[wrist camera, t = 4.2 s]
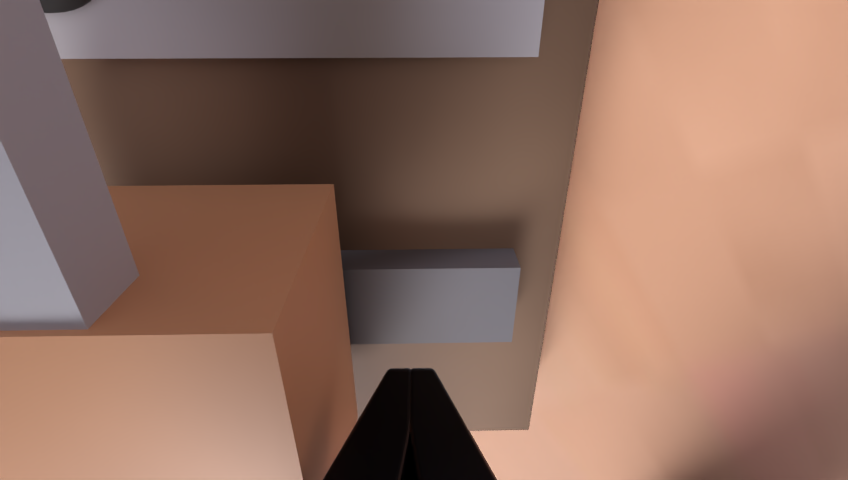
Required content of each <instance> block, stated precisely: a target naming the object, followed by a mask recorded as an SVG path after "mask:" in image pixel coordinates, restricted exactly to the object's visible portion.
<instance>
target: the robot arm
mask: <svg viewBox="0 0 848 480" xmlns="http://www.w3.org/2000/svg"><path fill="white" fill-rule="evenodd" d="M323 480H497V479H496V477H495V475H494V474H493V472H492V470H491V468H490V467H489V465H488V463H487V461H486V460H485V458H484V456H483V454H482V452H481V451H480V449H479V447H478V445H477V444H476V442H475V440H474V438H473V437H472V435H471V433H470V431H469V430H468V428H467V426H466V424H465V423H464V421H463V419H462V417H461V415H460V414H459V412H458V410H457V408H456V407H455V405H454V403H453V401H452V400H451V398H450V396H449V394H448V393H447V391H446V389H445V387H444V385H443V384H442V382H441V380H440V378H439V377H438V375H437V373H436V372H435V370H434V369H432V368H412V369H410V368H390V369H389V370H387V372H386V373H385V375H384V376H383V378H382V380H381V381H380V383H379V385H378V387H377V388H376V390H375V392H374V393H373V395H372V397H371V398H370V400H369V402H368V404H367V405H366V407H365V409H364V410H363V412H362V414H361V415H360V417H359V419H358V421H357V422H356V424H355V426H354V427H353V429H352V431H351V433H350V434H349V436H348V438H347V439H346V441H345V443H344V444H343V446H342V448H341V450H340V451H339V453H338V455H337V456H336V458H335V460H334V461H333V463H332V465H331V467H330V468H329V470H328V472H327V473H326V475H325V477H324V478H323Z"/></svg>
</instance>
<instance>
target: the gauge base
mask: <svg viewBox="0 0 848 480" xmlns="http://www.w3.org/2000/svg"><path fill="white" fill-rule="evenodd" d="M598 2H599V0H40V3H41V6H42V8H43V11H44V14H45V17H46V19H47V22H48V25H49V28H50V30H51V33H52V36H53V39H54V41H55V44H56V47H57V50H58V52H59V55H60V58H61V61H62V63H63V66H64V69H65V72H66V74H67V77H68V80H69V83H70V85H71V88H72V91H73V94H74V96H75V99H76V102H77V105H78V107H79V110H80V113H81V116H82V118H83V121H84V124H85V127H86V129H87V132H88V135H89V138H90V140H91V143H92V146H93V149H94V151H95V154H96V157H97V160H98V162H99V165H100V168H101V171H102V173H103V176H104V179H105V182H106V184H107V186H167V185H285V184H334V192H335V202H336V211H337V221H338V231H339V240H340V250H341V259H342V269H343V278H344V288H345V298H346V307H347V317H348V326H349V336H350V346H351V355H352V365H353V374H354V384H355V394H356V403H357V413H358V419H359V417H360V415H361V414H362V412H363V410H364V409H365V407H366V405H367V404H368V402H369V400H370V398H371V397H372V395H373V393H374V392H375V390H376V388H377V387H378V385H379V383H380V381H381V380H382V378H383V376H384V375H385V373H386V372H387V370H389V369H390V368H410V369H412V368H432V369H434V370H435V372H436V373H437V375H438V377H439V378H440V380H441V382H442V384H443V385H444V387H445V389H446V391H447V393H448V394H449V396H450V398H451V400H452V401H453V403H454V405H455V407H456V408H457V410H458V412H459V414H460V415H461V417H462V419H463V421H464V423H465V424H466V426H467V428H468V430H469V431H480V430H528V429H529V423H530V417H531V411H532V405H533V399H534V392H535V386H536V380H537V374H538V368H539V362H540V356H541V350H542V344H543V338H544V331H545V325H546V319H547V313H548V307H549V301H550V295H551V289H552V283H553V276H554V270H555V264H556V258H557V252H558V246H559V240H560V234H561V228H562V221H563V215H564V209H565V203H566V197H567V191H568V185H569V179H570V173H571V166H572V160H573V154H574V148H575V142H576V136H577V130H578V124H579V118H580V111H581V105H582V99H583V93H584V87H585V81H586V75H587V69H588V63H589V57H590V50H591V44H592V38H593V32H594V26H595V20H596V14H597V8H598ZM358 419H357V421H358Z"/></svg>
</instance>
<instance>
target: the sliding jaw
mask: <svg viewBox="0 0 848 480" xmlns="http://www.w3.org/2000/svg"><path fill="white" fill-rule="evenodd" d="M357 419H358V413H357V403H356V394H355V384H354V374H353V365H352V355H351V346H350V336H349V326H348V317H347V307H346V298H345V288H344V278H343V269H342V259H341V250H340V240H339V231H338V221H337V211H336V202H335V192H334V184H285V185H167V186H107V184H106V182H105V179H104V176H103V173H102V171H101V168H100V165H99V162H98V160H97V157H96V154H95V151H94V149H93V146H92V143H91V140H90V138H89V135H88V132H87V129H86V127H85V124H84V121H83V118H82V116H81V113H80V110H79V107H78V105H77V102H76V99H75V96H74V94H73V91H72V88H71V85H70V83H69V80H68V77H67V74H66V72H65V69H64V66H63V63H62V61H61V58H60V55H59V52H58V50H57V47H56V44H55V41H54V39H53V36H52V33H51V30H50V28H49V25H48V22H47V19H46V17H45V14H44V11H43V8H42V6H41V3H40V0H0V480H323V478H324V477H325V475H326V473H327V472H328V470H329V468H330V467H331V465H332V463H333V461H334V460H335V458H336V456H337V455H338V453H339V451H340V450H341V448H342V446H343V444H344V443H345V441H346V439H347V438H348V436H349V434H350V433H351V431H352V429H353V427H354V426H355V424H356V422H357Z"/></svg>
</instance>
